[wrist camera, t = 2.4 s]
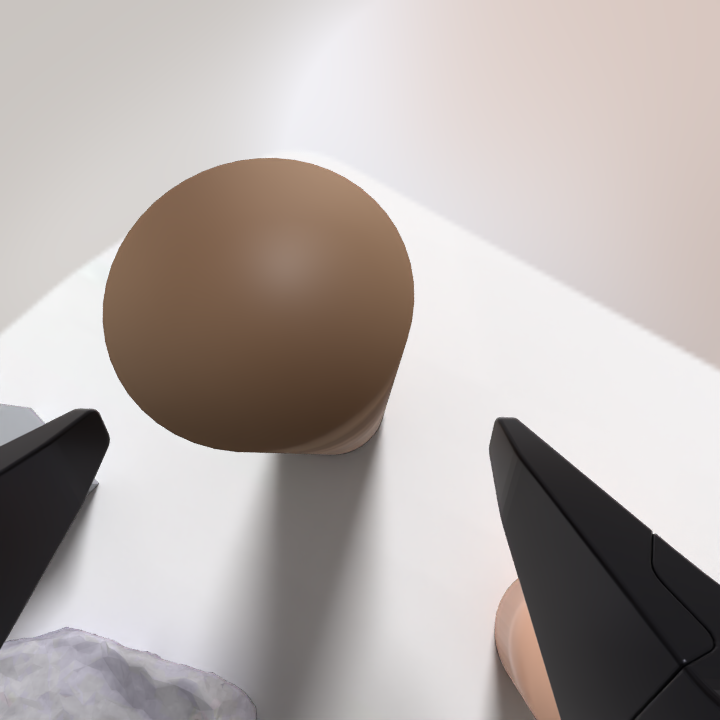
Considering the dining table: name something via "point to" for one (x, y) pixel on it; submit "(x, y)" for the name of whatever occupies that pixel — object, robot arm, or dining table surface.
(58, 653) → the stone block
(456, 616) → the dining table surface
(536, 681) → the peach rounded knob part
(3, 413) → the grey faceted polyhedron
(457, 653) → the dining table surface
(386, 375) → the walnut post
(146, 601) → the dining table surface
